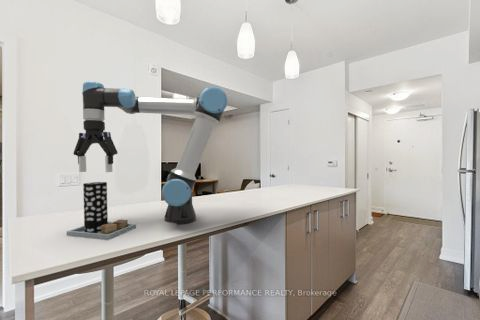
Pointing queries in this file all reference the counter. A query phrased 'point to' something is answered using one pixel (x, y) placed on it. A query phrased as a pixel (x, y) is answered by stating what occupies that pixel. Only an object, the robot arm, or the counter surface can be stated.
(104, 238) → the tray
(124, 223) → the walnut block
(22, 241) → the counter surface
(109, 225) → the walnut block
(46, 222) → the counter surface
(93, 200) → the white-spotted black cylinder
